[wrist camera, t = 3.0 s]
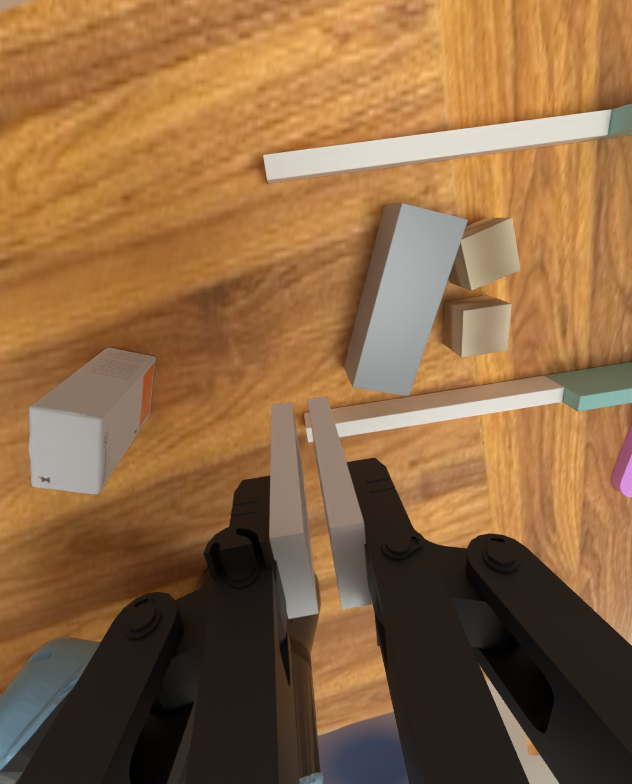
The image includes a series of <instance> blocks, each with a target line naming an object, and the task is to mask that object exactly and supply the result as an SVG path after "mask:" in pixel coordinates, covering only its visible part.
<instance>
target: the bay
mask: <svg viewBox="0 0 632 784" xmlns="http://www.w3.org/2000/svg"><path fill="white" fill-rule="evenodd" d="M630 135H632V103H630V104H627V105H624V106H621V107H618V108H615V109H612V111H611V117H610V123H609V129H608V135H605V136H601V137H597V138H593V139H589V140H585V141H592V140H600V139H607V138H615V137H622V136H630ZM585 141H581V142H585ZM545 377H547V378H549V379H551V380H552V381H554V382H556V383H557V384H559V385H561V386H563V387H564V393H563V399H562V402H564V403H565V404H567V405H569V406H570V407H572V408H573V409H575V410H576V411H583V410H589V409H595V408H601V407H608V406H614V405H620V404H626V403H632V362H628V363H621V364H615V365H608V366H602V367H596V368H589V369H583V370H576V371H570V372H564V373H557V374H551V375H545Z"/></svg>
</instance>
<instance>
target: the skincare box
mask: <svg viewBox="0 0 632 784" xmlns="http://www.w3.org/2000/svg"><path fill="white" fill-rule="evenodd" d="M155 362H156V357H154V356H150V355H145V354H140V353H134V352H129V351H124V350H120V349H115V348H110V347H108V348H106V349H105V350H103V351H102V352H101V353H99V354H98V355H97V356H95V357H94V358H93V359H92V360H90V361H89V362H88V363H86V364H85V365H84V366H82V367H81V368H80V369H79V370H77V371H76V372H75V373H73V374H72V375H71V376H69V377H68V378H67V379H65V380H64V381H63V382H61V383H60V384H59V385H58V386H56V387H55V388H54V389H52V390H51V391H50V392H48V393H47V394H46V395H44V396H43V397H42V398H40V399H39V400H38V401H36V402H35V403H34V404H32V405H31V406H30V407H29V430H30V437H29V456H30V466H31V485H32V487H37V488H46V489H54V490H62V491H70V492H78V493H86V494H99V493H100V492H101V490H102V488H103V487H104V486H105V484H106V482H107V481H108V479H109V478H110V476H111V475H112V473H113V471H114V470H115V468H116V467H117V465H118V464H119V462H120V461H121V459H122V457H123V456H124V454H125V453H126V451H127V449H128V448H129V447H130V445H131V443H132V442H133V440H134V439H135V437H136V435H137V434H138V432H139V431H140V429H141V428H142V426H143V424H144V423H145V421H146V420H147V418H148V417H149V415H150V413H151V399H152V387H153V379H154V371H155Z"/></svg>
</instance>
